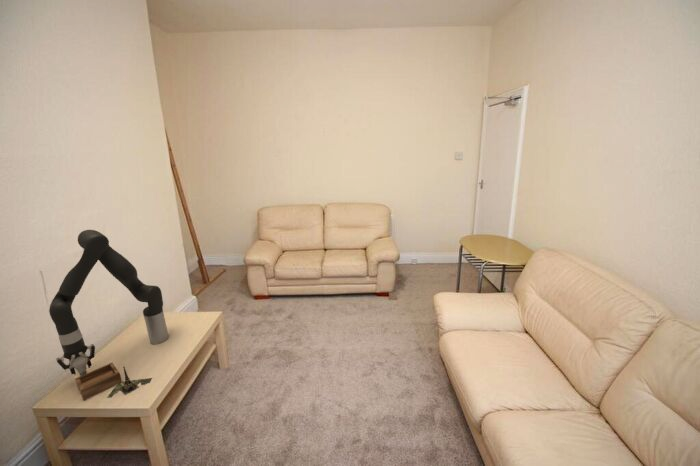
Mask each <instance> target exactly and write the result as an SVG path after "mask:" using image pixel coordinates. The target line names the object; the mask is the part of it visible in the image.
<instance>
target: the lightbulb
mask: <svg viewBox="0 0 700 466" xmlns="http://www.w3.org/2000/svg"><path fill="white" fill-rule="evenodd" d="M87 362H88V359H87V358H84V357H82V356H80V357H77V358H76V359H74V363H73V364H72V366H73V367H74V369H75V370H76V371H77V373H78V374H79V377H80V376H82V375H85V374H87V373H88V371H87V369H88V367H87Z"/></svg>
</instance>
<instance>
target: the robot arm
mask: <svg viewBox="0 0 700 466" xmlns="http://www.w3.org/2000/svg"><path fill="white" fill-rule="evenodd" d="M77 243H78V245H79V246H80V247H81V248H82V249H83V252H82V255H81V257H80V259H79V261H78V262H77V263H76V264H75V265H74V266H73V267H72V268H71V269H70V270H69V271H68V273H67V274H66V275H65V277H64V278H63V280H62V282H61V284H60V286H59V289H58V291H57V292H56V294H55V295H54V297H53V299H52V300H51V303H50V305H49V310H48V312H49V315H50V318H51V320H52V322H53V323H54V325H55V330H56V332H57V335H58V340H59V344H60V346H61V348H62V351H63V355H62V356H60V357H57V358H56V360H55V361H56V362H57V364H58V365H59V366H61V368H62V369H63V370H64V371H66V370H68V369H69V370H70V373H71V375H77V372H76V369H75V368H74V367H73V366H72V364H73V363H74V359H76V358H77V357H80V356H82V357H84V358H87V359H88V362H87V365H86V367H87V369H90V368H91V367H92V362H91V361H92V359H94V358H95V352H96V351H95V350H96V347H95V344H92V343H91V344H90V345H86V344H85V340H84V337H83V334H82V332H81V330H80V328H79V324H78V321H77V319H76V318H75V317H74V314H73V310H72V305H73V302H74V300H75V298H76V296H77V295H79V293H80V291H81V290H82V287H83V286H84V284H85V281H86V279H87V278H88V276H89V274H90V272H91V271H92V270H93V268H94V266H95V265H96V264H97V263H98V262H99V263H100V264H101V265H102V266H103V267H104V269H106V270H107V271H108V273H110V274H111V276H113V278H115V279H116V280H117V281H118V282H119V283H121V284H122V285H123V286H124V287H125V288H126V289H127V290H128V291H129V292H130V294H131V295H132V296H133V297H134V298H135V299H136V300H137V301H139V302H141V303H146V304H147V306H146V307H145V308H144V309H143V310H142V314H143V317H144V322H145V326H146V330H147V335H148V340H149V343H150V344H151V345H158V344H162V343H164V342H165V341H167V340H168V339H169V333H168V332H169V331H168V327H167V323H166V318H165V313H164V308H163V307H164V300H163V294H162V289H161V288H160V287H159V286H158V285H149V284H145V283H144V282H142V281H141V280H140V279H139V277H138V271H137V270H138V269H136V267H135V266H134V265H133V264H132V263H131V261H130V260H129V259H127V258H126V257H125V256H123V255H122V254H121V253H119V252H118V251H117V250H115V249H114V248H113V247H111V246H110V244H109V243H110V241H109V239H108V237H107V236H106V235H104V234H103V233H102V232H100V231H97V230H95V229H86V230H83V231H80V232H79V234H78V236H77ZM88 350H89V355H87V354H86V353H87V351H88ZM65 359H66V360H68V364H66V363H65Z"/></svg>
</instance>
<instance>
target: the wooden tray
mask: <svg viewBox="0 0 700 466" xmlns="http://www.w3.org/2000/svg"><path fill="white" fill-rule="evenodd" d="M121 382H123V381H122V376H121V374H120V372H119V369H118V368H117V367H116V365H115V364H114V363H113V362H110V363H108V364H105V365H103V366H101V367H98V368H96V369H94V370H91V371H89V372H87V374H85V375H82V376H80V375H79V376H78V377H75V383H76V386H77V389H78V391H79V392H80V395H81V397H82V399H83V401H86V400H88V399H90V398H92V397H94V396H96V395H98V394H100V393H102V392H104V391H106V390H108V389H110V388H113V387H116V386H117V385H118V384H119V383H121Z"/></svg>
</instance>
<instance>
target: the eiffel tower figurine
mask: <svg viewBox="0 0 700 466" xmlns="http://www.w3.org/2000/svg"><path fill="white" fill-rule="evenodd" d="M122 365H123V366H122V368H123V372H124V381H122V382H121V383H119V384H117V385H115V386H114V388H113V389H112V391H110V393H109V394H108V395H107V397H106V399H111V398H113V396H114V395H116V394H118V393H119V392H121V393H122V394H123V395H124V396H126V395H128V394H131V393H132V392H134V391H136V390H137V389H140V386H139V384H140V385H141V386H145V385H147V384H150V383H151V382H152V379H153V377H149V378H140V379H133V380H131V378H130V377H129V375H128V373H127V370H126V367H125V366H124V364H122Z"/></svg>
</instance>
